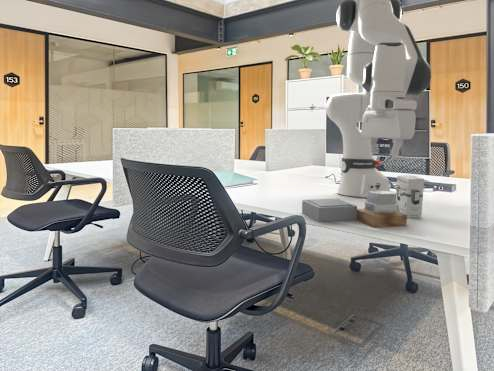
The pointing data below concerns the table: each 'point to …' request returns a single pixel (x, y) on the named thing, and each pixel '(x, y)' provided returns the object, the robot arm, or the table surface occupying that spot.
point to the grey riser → (329, 210)
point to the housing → (381, 202)
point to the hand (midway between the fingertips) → (383, 155)
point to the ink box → (409, 195)
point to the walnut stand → (381, 219)
